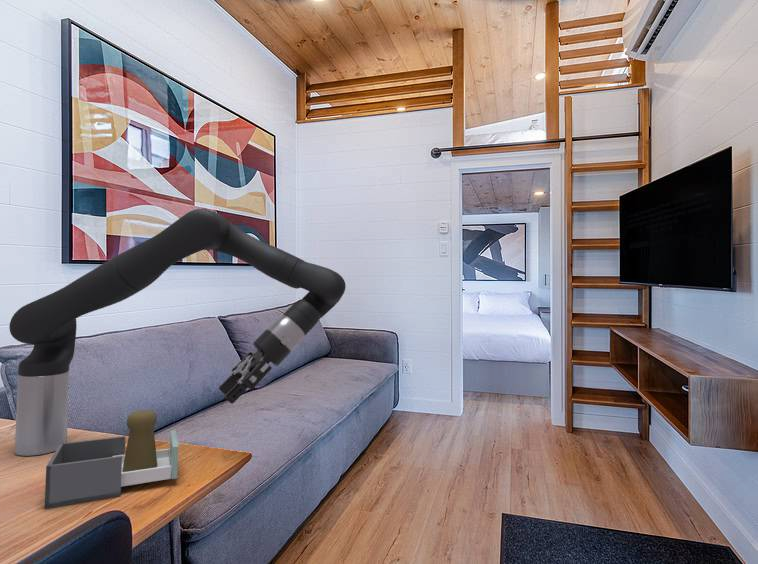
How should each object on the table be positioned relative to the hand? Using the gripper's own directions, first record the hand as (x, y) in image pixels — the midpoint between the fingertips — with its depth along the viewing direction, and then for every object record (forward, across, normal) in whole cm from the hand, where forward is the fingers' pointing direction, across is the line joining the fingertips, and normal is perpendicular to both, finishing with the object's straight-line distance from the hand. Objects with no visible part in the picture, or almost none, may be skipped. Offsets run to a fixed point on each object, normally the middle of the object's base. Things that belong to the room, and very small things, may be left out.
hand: (224, 395), depth 91 cm
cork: (+20, 0, -2) cm, 20 cm away
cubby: (+27, 0, -6) cm, 27 cm away
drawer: (+20, 0, -1) cm, 20 cm away
